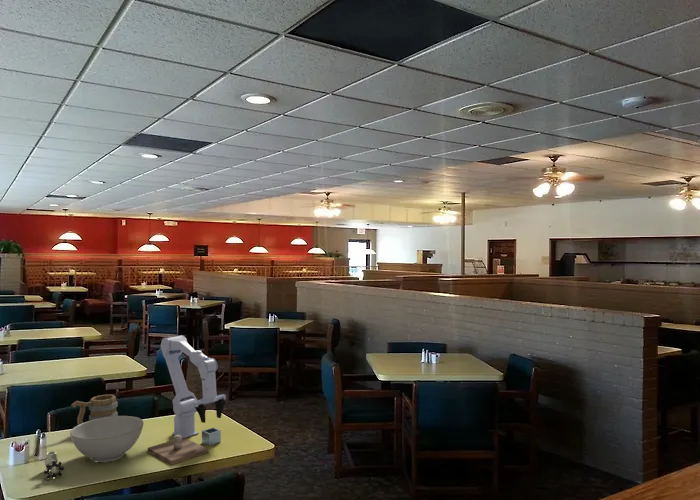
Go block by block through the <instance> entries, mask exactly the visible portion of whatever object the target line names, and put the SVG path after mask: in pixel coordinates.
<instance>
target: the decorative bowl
mask: <svg viewBox="0 0 700 500" xmlns="http://www.w3.org/2000/svg"><path fill="white" fill-rule="evenodd" d="M143 427H144V420H143V419H141V418H140V417H137V416H130V415H129V416H128V415H118V416H113V417H105V418H99V419H95V420H91V421H90V420H88V421H85V422H84V421H83V423H82V424H79V425H78V424H77V425H76V426H74V427H73V428H72V429H71V430H70V432H69V436H70V438H71V441H72V443H73V445H74V446H75V448H76V449H77V451H78V452H80V453H81V454H82V455H83V456H85V457H87V458H89V459H90V460H91V459H92V460H93V461H98V462H103V463H110V462H109V461H111V462H114V461H117V460H119V459H122V458H123V457H124V456H125V455H126V453H127V452H128V451H129V450H130V449H132V448H133V447H134V445H135V444H136V443H137V441H138V440H139V438H140V436H141V433H142V430H143ZM92 460H91V461H92ZM93 461H92V462H93ZM98 462H97V463H98Z"/></svg>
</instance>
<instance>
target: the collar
mask: <svg viewBox="0 0 700 500" xmlns="http://www.w3.org/2000/svg"><path fill="white" fill-rule="evenodd" d="M221 437H222V435H221V430H220V429H218V428H216V427H210V428H207V429H204V430H202V431H201V442H202V444H204V445H207V446H209V447H210V446H213V445H215V444H216V445H217V444H218V443H222V441H221V440H222V439H221Z"/></svg>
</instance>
